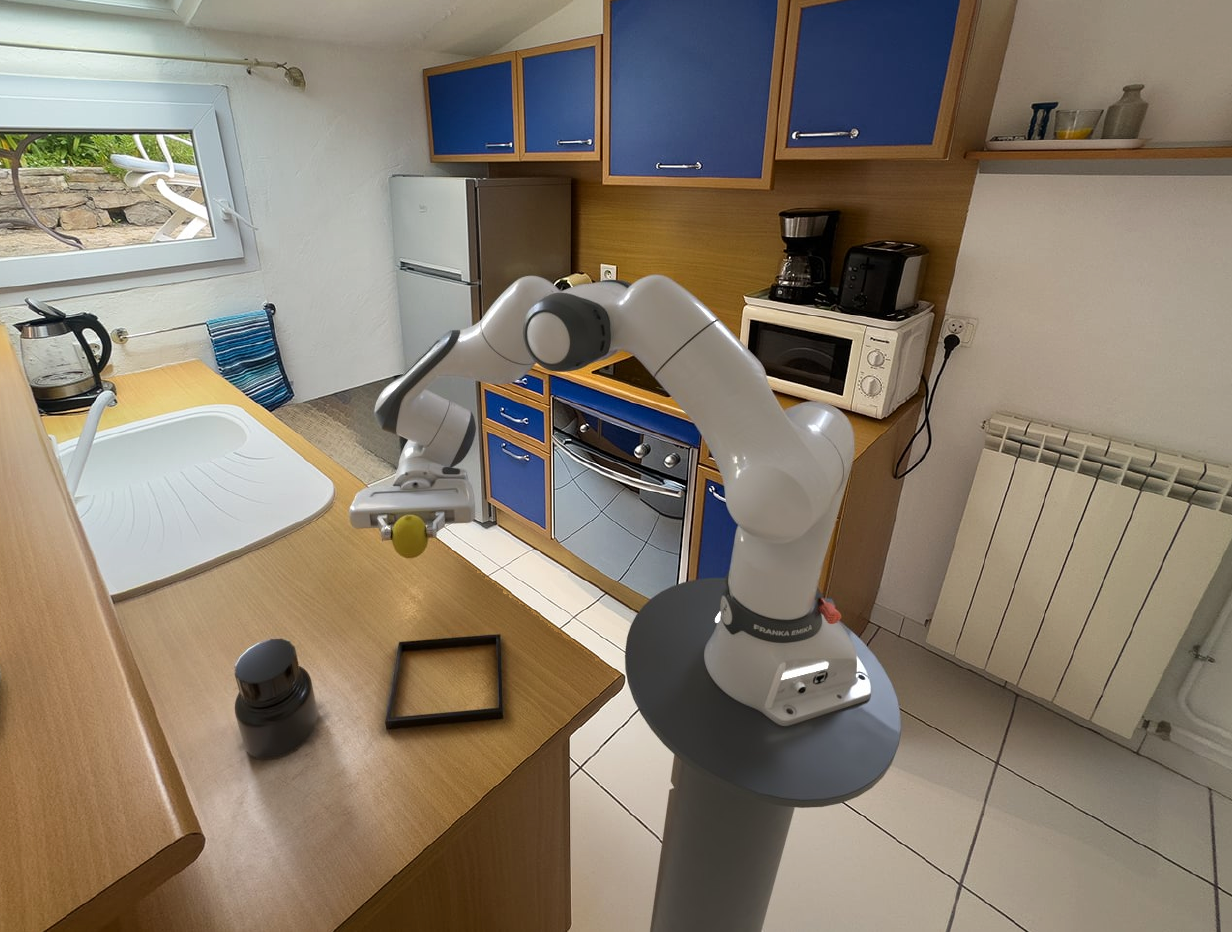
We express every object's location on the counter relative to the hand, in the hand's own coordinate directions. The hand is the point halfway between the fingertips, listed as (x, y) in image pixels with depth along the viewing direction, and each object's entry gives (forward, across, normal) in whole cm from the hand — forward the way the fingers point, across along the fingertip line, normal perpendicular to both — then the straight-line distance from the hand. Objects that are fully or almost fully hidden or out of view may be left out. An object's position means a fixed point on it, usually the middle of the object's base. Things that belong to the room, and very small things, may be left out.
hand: (409, 535), depth 89 cm
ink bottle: (+20, -15, +14) cm, 29 cm away
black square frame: (+15, +6, +14) cm, 22 cm away
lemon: (-1, 0, +5) cm, 5 cm away
